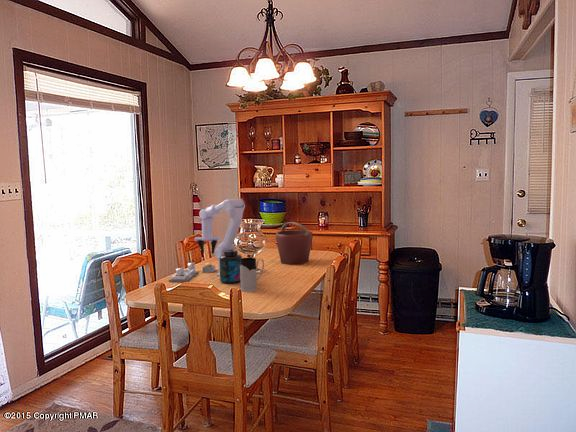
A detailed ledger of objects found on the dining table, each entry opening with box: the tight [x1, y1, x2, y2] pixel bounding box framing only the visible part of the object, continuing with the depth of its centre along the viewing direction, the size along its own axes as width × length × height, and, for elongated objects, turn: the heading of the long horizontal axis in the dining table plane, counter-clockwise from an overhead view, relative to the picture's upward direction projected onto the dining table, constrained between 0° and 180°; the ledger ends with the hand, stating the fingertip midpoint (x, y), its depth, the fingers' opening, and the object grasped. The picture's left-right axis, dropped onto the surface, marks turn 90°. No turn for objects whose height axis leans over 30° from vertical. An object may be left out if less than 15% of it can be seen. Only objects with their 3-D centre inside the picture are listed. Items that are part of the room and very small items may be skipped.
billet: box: [187, 262, 196, 271], centre depth 268 cm, size 4×4×5 cm
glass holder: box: [240, 257, 265, 293], centre depth 226 cm, size 9×14×15 cm, turn 135°
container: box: [218, 249, 243, 285], centre depth 242 cm, size 12×12×16 cm
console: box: [202, 264, 216, 273], centre depth 268 cm, size 6×6×3 cm
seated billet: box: [175, 267, 185, 276], centre depth 248 cm, size 4×4×5 cm
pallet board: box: [168, 269, 199, 283], centre depth 254 cm, size 20×10×3 cm, turn 175°
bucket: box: [275, 221, 313, 266], centre depth 286 cm, size 24×22×25 cm
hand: (207, 253), depth 267 cm, fingers open, 5 cm apart
